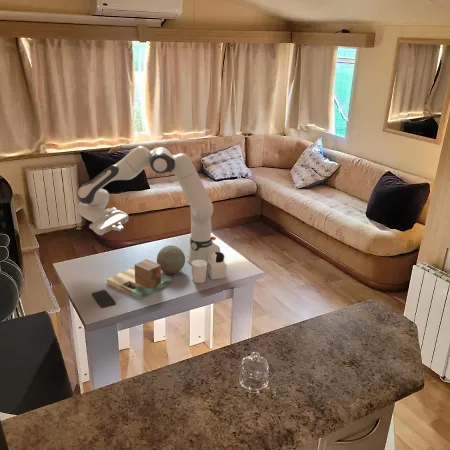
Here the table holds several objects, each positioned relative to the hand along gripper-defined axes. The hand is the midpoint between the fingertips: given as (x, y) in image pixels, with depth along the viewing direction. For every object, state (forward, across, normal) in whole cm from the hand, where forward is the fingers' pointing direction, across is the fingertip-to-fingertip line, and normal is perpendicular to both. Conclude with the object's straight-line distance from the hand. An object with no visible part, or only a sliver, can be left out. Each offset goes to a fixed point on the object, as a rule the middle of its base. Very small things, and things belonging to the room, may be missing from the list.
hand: (121, 229), depth 236 cm
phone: (+15, -27, +21) cm, 37 cm away
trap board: (+18, -5, +22) cm, 29 cm away
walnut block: (+24, -5, +18) cm, 30 cm away
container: (+44, +26, +21) cm, 55 cm away
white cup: (+40, +16, +21) cm, 48 cm away
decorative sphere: (+23, +14, +24) cm, 36 cm away
